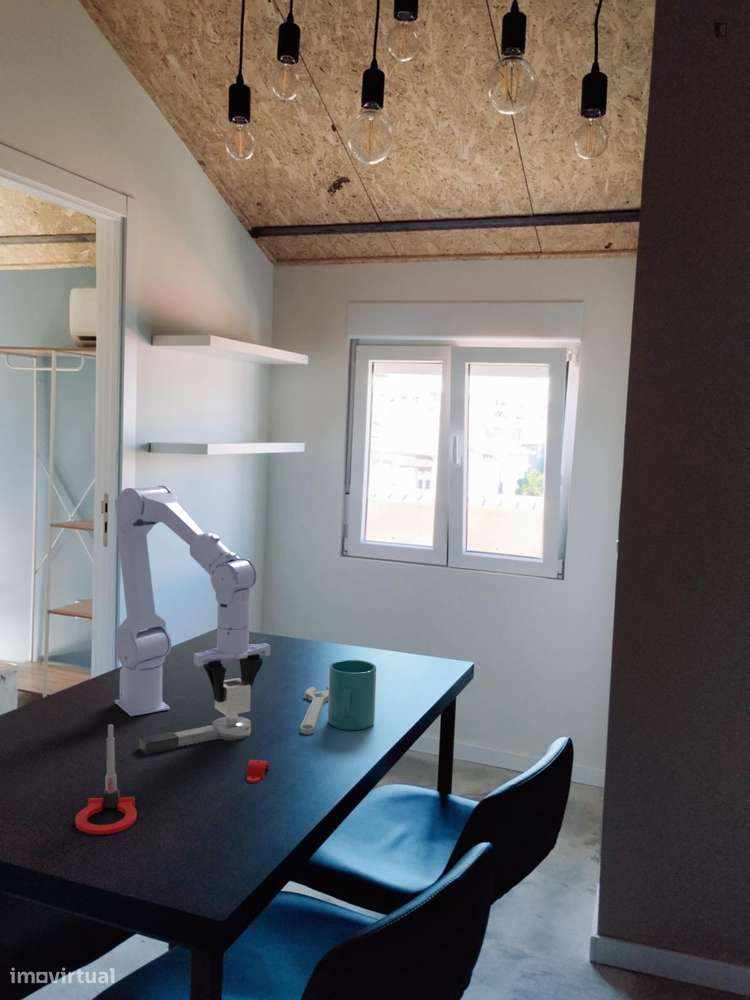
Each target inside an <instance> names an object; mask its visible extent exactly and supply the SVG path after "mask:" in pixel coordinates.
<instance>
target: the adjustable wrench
mask: <svg viewBox="0 0 750 1000" xmlns="http://www.w3.org/2000/svg"><path fill="white" fill-rule="evenodd" d="M325 687H326V689H325V690H320V691H319V690H317V689H316V687H315V686H311V687H309V688H307V689H306V690H305V692H303V698H304V697H305V700H308V699H310V700H311V701H312V702H311V701H310V700H309V701H310V704H309V707H308V709H307V711H306V714H305V716H304V717H303V720H302V722H301V724H300V726H299V727H300V732H301V733H300V734H302V733H304V734H303V735H306V734H309V735H312V734H311V733H313V734H314V733H315V732H316V727H317V725H318V722H319V719H318V718H320V716H321V713H320V712H322V710H321V709H323V706H324V705H325V704H326V703H327V702H326V701H328V697H329V685H326V686H325ZM325 702H326V703H325ZM319 715H320V716H319ZM317 721H318V722H317Z"/></svg>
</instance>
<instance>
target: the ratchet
mask: <svg viewBox="0 0 750 1000" xmlns="http://www.w3.org/2000/svg"><path fill="white" fill-rule="evenodd" d="M250 733H252V721H251V720H250V719H249V718H247V717H244V716H239V713H238V714H233V715H228V716H226V715H225V716H222V717H221V716H220V717H219V718H216V719H214V721H213V722H212V724H211V725H206V726H200V727H196V728H192V729H185V730H181V731H177V732H173V731H168V732H162V733H158V734H153V735H152V734H151V735H148V736H144V737H143V736H142V737H139V738H138V743H139V745H138V749H139V748H140V749H141V750H142V751H143V752H144V753H145V754H147V755H149V754H148V753H151V754H154V753H153V752H156V753H159V752H158V751H161V752H164V751H163V750H165V751H169V750H168V749H170V750H174V749H173V748H175V749H179V747H180V746H181V747H184V746H185V745H186V746H190V744H191V745H194V743H195V744H198V743H199V742H200V743H204V741H205V742H208V741H214V740H221V739H223V740H222V741H237V739H239V740H242V739H246V738H247V736H248V737H249V736H250V735H251V734H250ZM200 743H199V744H200ZM186 746H185V747H186ZM140 749H139V750H140ZM141 750H140V751H141ZM142 751H141V752H142ZM143 752H142V753H143ZM144 753H143V754H144ZM145 754H144V755H145Z"/></svg>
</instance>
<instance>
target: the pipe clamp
mask: <svg viewBox="0 0 750 1000" xmlns="http://www.w3.org/2000/svg"><path fill="white" fill-rule="evenodd" d="M266 770H270V761H267V760H258V759H257V760H256V759H250V760H249V762H248V765H247V769H246V775H245V777H246V782H248V783H250V784H255V783H259V782H260V781H261V780H262V779H264V777H265V773H266V772H265V771H266Z"/></svg>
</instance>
